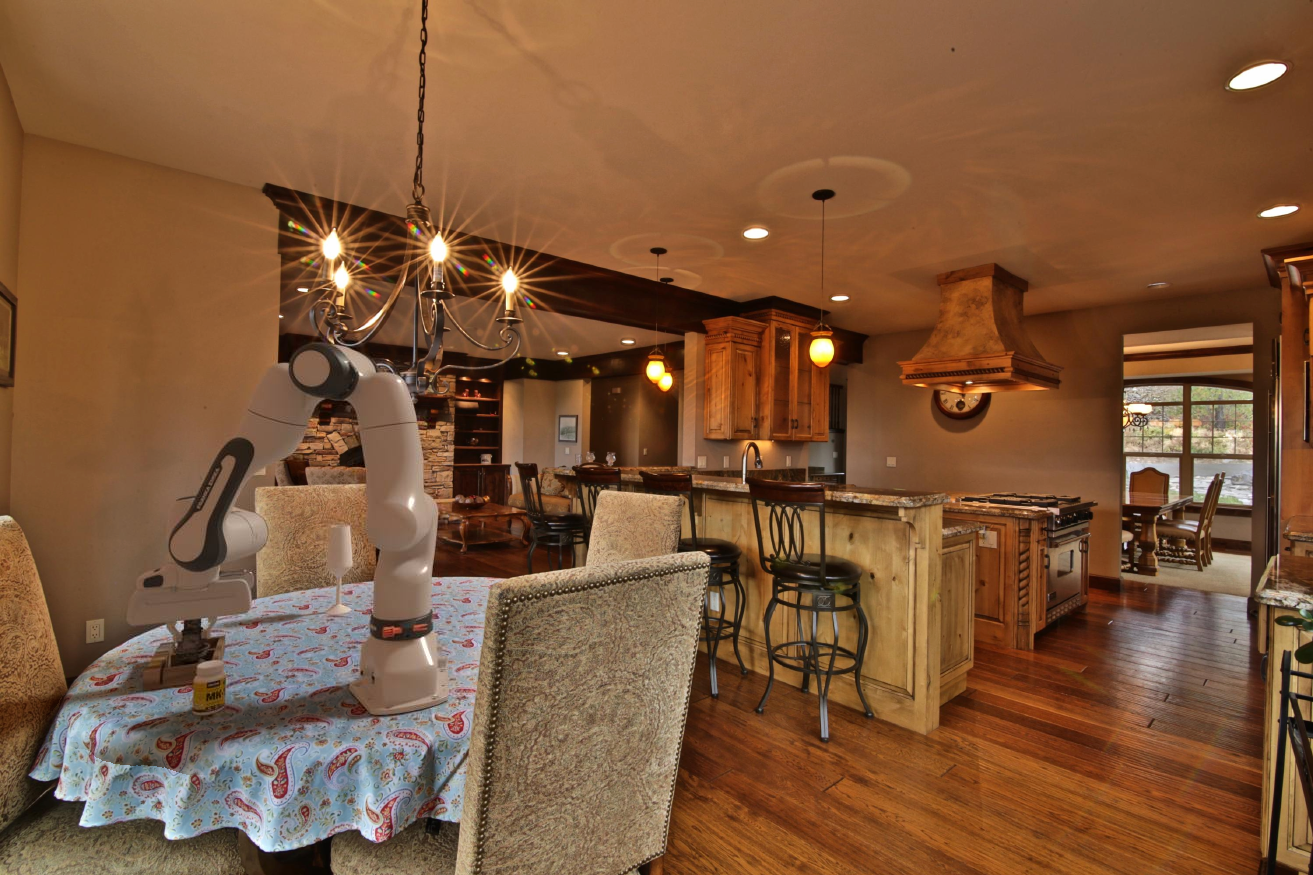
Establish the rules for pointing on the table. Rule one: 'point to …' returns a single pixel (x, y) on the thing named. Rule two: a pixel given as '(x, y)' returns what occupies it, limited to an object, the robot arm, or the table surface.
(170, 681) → the divided sorting tray
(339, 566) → the champagne flute
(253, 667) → the table surface
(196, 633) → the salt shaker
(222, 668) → the supplement bottle
